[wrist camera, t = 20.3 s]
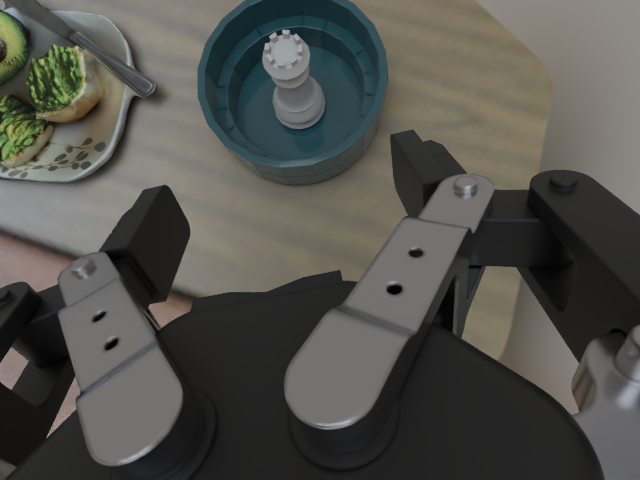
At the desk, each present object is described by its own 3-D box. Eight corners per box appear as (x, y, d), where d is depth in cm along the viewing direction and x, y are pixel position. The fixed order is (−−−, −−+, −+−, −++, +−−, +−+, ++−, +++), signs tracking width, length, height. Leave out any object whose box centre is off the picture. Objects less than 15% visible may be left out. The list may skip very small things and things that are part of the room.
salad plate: (182, 18, 34) (156, -23, 29) (144, 201, 32) (109, 188, 27) (-1, 1, 35) (-53, -40, 31) (-46, 173, 34) (-108, 157, 29)
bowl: (204, 166, 32) (174, 143, 26) (247, 22, 33) (227, -28, 28) (358, 203, 30) (360, 187, 25) (397, 51, 31) (407, 3, 26)
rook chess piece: (312, 74, 31) (299, 4, 23) (334, 117, 30) (329, 60, 23) (266, 97, 31) (238, 35, 23) (288, 140, 31) (267, 92, 23)
